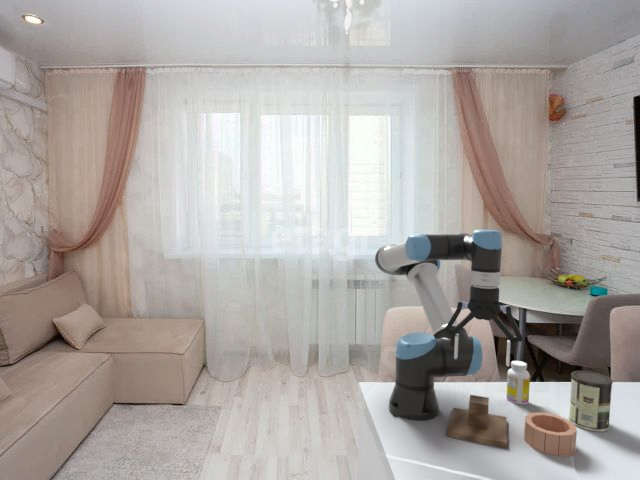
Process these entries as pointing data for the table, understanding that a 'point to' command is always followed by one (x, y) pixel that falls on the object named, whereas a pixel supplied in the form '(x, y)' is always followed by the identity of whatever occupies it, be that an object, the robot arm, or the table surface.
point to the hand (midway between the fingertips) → (481, 361)
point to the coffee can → (590, 400)
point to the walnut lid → (478, 424)
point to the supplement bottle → (518, 383)
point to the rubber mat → (478, 442)
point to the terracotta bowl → (550, 434)
